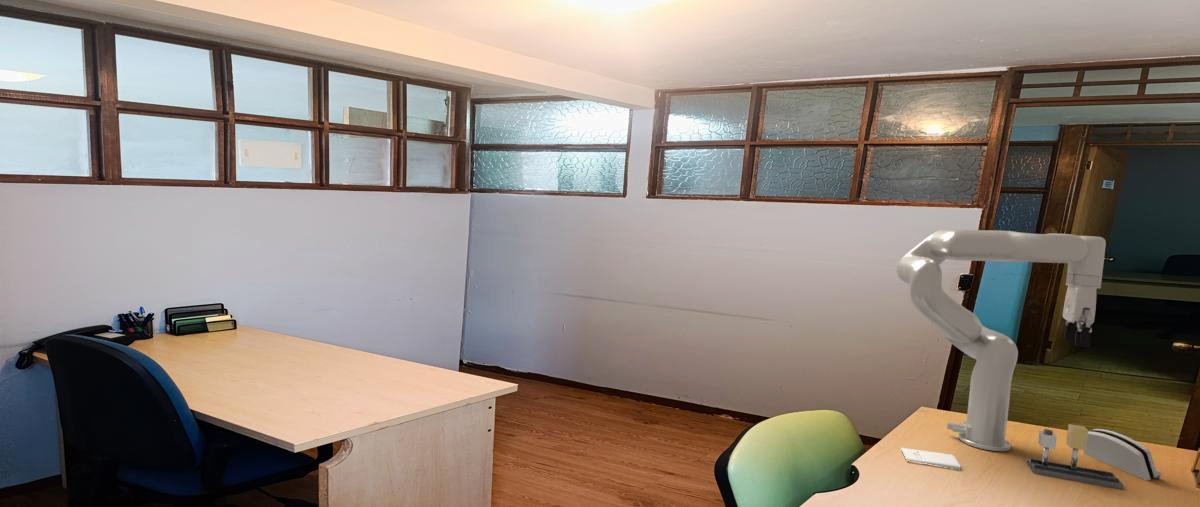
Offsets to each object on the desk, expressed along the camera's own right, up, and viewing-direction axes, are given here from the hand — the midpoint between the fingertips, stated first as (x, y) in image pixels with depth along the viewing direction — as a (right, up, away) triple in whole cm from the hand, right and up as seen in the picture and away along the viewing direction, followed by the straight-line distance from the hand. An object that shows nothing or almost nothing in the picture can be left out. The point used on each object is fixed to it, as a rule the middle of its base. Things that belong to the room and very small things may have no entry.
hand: (1076, 343), depth 169 cm
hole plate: (-12, -31, -15) cm, 36 cm away
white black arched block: (+5, -32, -7) cm, 33 cm away
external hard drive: (-45, -30, -10) cm, 55 cm away
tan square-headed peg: (-12, -29, -15) cm, 35 cm away
